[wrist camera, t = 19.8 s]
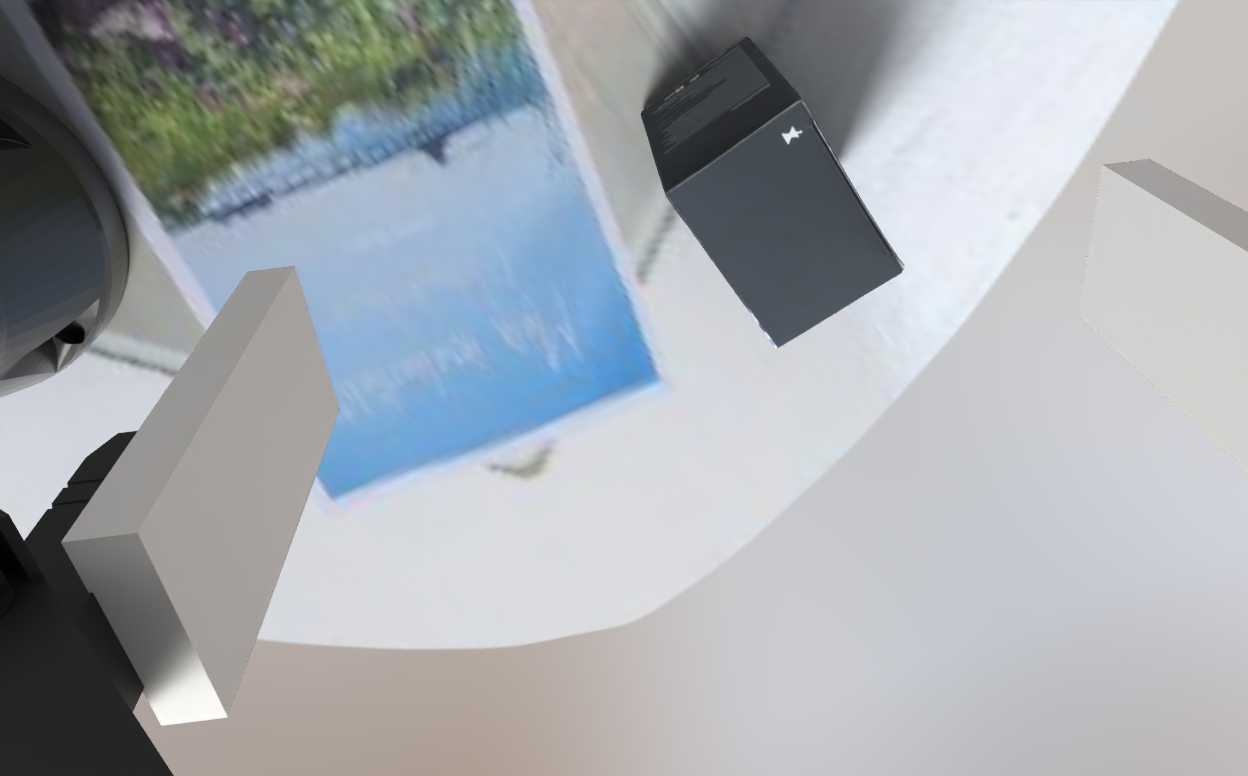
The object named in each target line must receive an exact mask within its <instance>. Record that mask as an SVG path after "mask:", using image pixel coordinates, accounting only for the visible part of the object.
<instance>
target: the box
mask: <svg viewBox="0 0 1248 776" xmlns="http://www.w3.org/2000/svg"><path fill="white" fill-rule="evenodd" d="M641 117H642V120H643V124H644V127H645V130H646V133H647V136H648V140H649V143H650V147H651V150H652V153H653V157H654V160H655V164H656V167H657V170H658V173H659V176H660V179H661V183H662V186H663V189H664V192H665V195H666V197H667V198H668V200H669V201H670V203H671V204H672V206H673V207H674V209H675V210H676V211H677V213H678V214H679V215H680V217H681V218H682V219H683V221H684V222H685V223H686V224H687V226H688V227H689V228H690V230H691V231H692V233H693V234H694V236H695V237H696V238H697V240H698V241H699V242H700V244H701V245H702V247H703V248H704V250H705V251H706V252H707V254H708V255H709V257H710V258H711V259H712V261H713V262H714V263H715V265H716V266H717V268H718V269H719V270H720V272H721V273H722V275H723V276H724V278H725V279H726V280H727V282H728V283H729V284H730V286H731V287H732V288H733V290H734V291H735V293H736V294H737V295H738V297H739V298H740V299H741V301H742V302H743V304H744V305H745V306H746V308H747V309H748V310H749V312H750V313H751V315H752V316H753V317H754V319H755V320H756V322H757V323H758V324H759V326H760V327H761V329H762V330H763V331H764V333H765V334H766V336H767V337H768V338H769V340H770V341H771V343H772V344H773V345H774V347H775V348H779V347H781V346H782V345H784V344H786V343H787V342H789V341H791V340H792V339H794V338H796V337H797V336H799V335H801V334H802V333H804V332H806V331H807V330H809V329H810V328H812V327H814V326H815V325H817V324H819V323H820V322H822V321H823V320H825V319H827V318H828V317H830V316H832V315H833V314H835V313H837V312H838V311H840V310H841V309H843V308H845V307H846V306H848V305H850V304H851V303H853V302H854V301H856V300H858V299H859V298H861V297H862V296H864V295H865V294H867V293H869V292H870V291H872V290H874V289H876V288H877V287H879V286H880V285H882V284H884V283H885V282H887V281H889V280H891V279H892V278H894V277H896V276H898V275H899V274H900V273H902V271H903V270H904V264H903V263H902V262H901V260H900V259H899V258H898V256H897V255H896V253H895V252H894V250H893V249H892V247H891V246H890V244H889V243H888V241H887V240H886V238H885V237H884V235H883V234H882V232H881V230H880V229H879V227H878V225H877V224H876V222H875V220H874V219H873V217H872V216H871V214H870V213H869V211H868V209H867V208H866V206H865V205H864V203H863V201H862V200H861V198H860V196H859V194H858V193H857V191H856V190H855V188H854V186H853V185H852V183H851V181H850V179H849V178H848V176H847V174H846V173H845V171H844V169H843V167H842V166H841V164H840V163H839V161H838V159H837V158H836V156H835V154H834V153H833V151H832V149H831V147H830V146H829V144H828V142H827V141H826V139H825V137H824V135H823V134H822V132H821V130H820V128H819V127H818V125H817V123H816V121H815V120H814V118H813V116H812V114H811V112H810V110H809V108H808V107H807V105H806V103H805V102H804V101H803V100H802V98H801V97H800V96H799V94H798V93H797V92H796V91H795V90H794V88H792V86H791V85H790V84H789V83H788V82H787V81H786V80H785V78H784V77H783V76H782V75H781V74H780V73H779V72H778V70H777V69H776V68H775V67H774V66H773V64H772V63H770V61H769V60H768V59H767V58H766V57H765V56H764V54H763V53H762V52H761V51H760V50H759V49H758V48H757V46H756V45H755V44H754V43H753V42H752V41H751V40H750V38H748V37H745V38H743V39H741V40H740V41H738V42H737V43H736V44H734V45H733V46H732V47H730V48H729V49H727V50H726V51H725V52H723V53H721V54H720V55H718V56H717V57H716V58H714V59H713V60H712V61H710V62H709V63H707V64H706V65H704V66H703V67H702V68H701V69H699V70H698V71H697V72H695V73H694V74H693V75H691V76H690V77H688V78H687V79H685V80H684V81H682V82H681V83H680V84H678V85H677V86H676V87H674V88H673V89H672V90H670V91H669V92H668V93H666V94H665V95H663V96H662V97H661V98H659V99H658V100H656V101H655V102H654V103H652V104H651V105H649V106H647V107H646V108H645V109H644V110H643V111H642V113H641Z"/></svg>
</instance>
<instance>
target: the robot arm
mask: <svg viewBox="0 0 1248 776" xmlns="http://www.w3.org/2000/svg"><path fill="white" fill-rule="evenodd" d="M127 269H128V250H127V242H126V235H125V230H124V226H123V222H122V219H121V215H120V212H119V210H118V207H117V204H116V202H115V199H114V197H113V195H112V193H111V190H110V188H109V187H108V185H107V183H106V181H105V179H104V177H103V176H102V174H101V172H100V171H99V169H98V167H97V166H96V164H95V163H94V162H93V160H92V159H91V157H90V156H89V154H88V153H87V152H86V151H85V149H84V148H83V147H82V146H81V144H80V143H79V142H78V141H77V140H76V138H75V137H74V136H73V135H72V134H71V133H70V132H69V131H68V130H67V129H66V128H65V127H64V126H63V125H62V124H61V123H60V122H59V121H58V120H57V119H56V118H55V117H54V116H53V115H52V114H51V113H49V112H48V111H47V110H46V109H45V108H44V107H42V106H41V105H40V104H39V103H37V102H36V101H35V100H34V99H32V98H31V97H29V96H28V95H27V94H25V93H24V92H22V91H21V90H20V89H18V88H16V87H15V86H13V85H12V84H10V83H8V82H7V81H5V80H4V79H2V78H0V398H1V397H3V396H6V395H9V394H11V393H14V392H17V391H19V390H22V389H25V388H27V387H30V386H32V385H35V384H37V383H40V382H42V381H44V380H46V379H48V378H50V377H52V376H53V375H55V374H57V373H58V372H60V371H61V370H63V369H64V368H66V367H67V366H68V365H70V364H71V363H72V362H74V361H75V360H76V359H77V358H78V357H79V356H80V355H81V354H82V353H83V352H84V351H85V350H86V349H87V348H88V347H89V346H90V344H91V343H92V342H93V341H94V340H95V339H96V338H97V337H98V336H99V335H100V333H101V332H102V331H103V330H104V329H105V328H106V326H107V325H108V324H109V322H110V321H111V319H112V317H113V316H114V314H115V312H116V310H117V308H118V306H119V304H120V301H121V298H122V296H123V292H124V288H125V284H126V278H127ZM1077 317H1078V318H1079V319H1080V320H1081V321H1082V322H1084V323H1085V324H1086V325H1087V326H1088V327H1089V328H1090V329H1091V330H1092V331H1093V332H1095V333H1096V334H1097V335H1098V336H1099V337H1100V338H1101V339H1102V340H1103V341H1105V343H1106V344H1108V345H1109V346H1110V347H1111V348H1112V349H1113V350H1114V351H1115V352H1116V353H1118V355H1120V356H1121V357H1122V358H1123V359H1124V360H1125V361H1126V362H1127V363H1128V364H1129V365H1130V366H1132V367H1133V368H1134V369H1135V370H1136V371H1137V372H1138V373H1139V374H1140V375H1141V376H1142V377H1144V378H1145V379H1146V380H1147V381H1148V382H1149V383H1150V384H1151V385H1152V386H1153V387H1155V388H1156V389H1157V390H1158V391H1159V392H1160V393H1161V394H1162V395H1163V396H1164V397H1165V398H1166V399H1168V400H1169V401H1170V402H1171V403H1172V404H1173V405H1174V406H1175V407H1176V408H1178V410H1180V411H1181V412H1182V413H1183V414H1184V415H1185V416H1186V417H1187V418H1188V419H1189V420H1191V421H1192V422H1193V423H1194V424H1195V425H1196V426H1197V427H1198V428H1199V429H1200V430H1202V431H1203V432H1204V433H1205V434H1206V435H1207V436H1208V437H1209V438H1210V439H1211V440H1212V441H1213V442H1214V443H1216V444H1217V445H1218V446H1219V447H1220V448H1221V449H1222V450H1223V451H1224V452H1225V453H1227V454H1228V455H1229V456H1230V457H1231V458H1232V459H1233V460H1234V461H1235V462H1236V463H1238V464H1239V465H1240V466H1241V467H1242V468H1243V469H1244V470H1245V471H1246V472H1247V473H1248V212H1246V211H1244V210H1242V209H1241V208H1239V207H1237V206H1235V205H1233V204H1231V203H1230V202H1228V201H1226V200H1224V199H1222V198H1220V197H1218V196H1217V195H1215V194H1213V193H1211V192H1209V191H1208V190H1206V189H1204V188H1202V187H1200V186H1198V185H1196V184H1195V183H1193V182H1191V181H1189V180H1187V179H1185V178H1183V177H1182V176H1180V175H1178V174H1176V173H1174V172H1173V171H1171V170H1169V169H1167V168H1165V167H1163V166H1162V165H1160V164H1158V163H1156V162H1154V161H1152V160H1150V159H1145V160H1137V161H1129V162H1122V163H1114V164H1105V165H1103V166H1102V171H1101V178H1100V183H1099V189H1098V195H1097V202H1096V208H1095V214H1094V219H1093V225H1092V231H1091V237H1090V243H1089V249H1088V255H1087V262H1086V267H1085V273H1084V279H1083V285H1082V291H1081V297H1080V303H1079V309H1078V315H1077ZM339 411H340V408H339V405H338V402H337V399H336V396H335V392H334V389H333V386H332V383H331V380H330V376H329V373H328V370H327V367H326V364H325V361H324V357H323V354H322V351H321V348H320V345H319V341H318V338H317V335H316V332H315V329H314V326H313V322H312V319H311V316H310V313H309V310H308V306H307V303H306V300H305V297H304V294H303V291H302V287H301V284H300V281H299V278H298V275H297V271H296V268H295V266H290V267H282V268H274V269H266V270H258V271H250V272H247V273H246V275H245V276H244V278H243V279H242V280H241V282H240V283H239V285H238V286H237V288H236V289H235V291H234V292H233V294H232V295H231V296H230V298H229V299H228V301H227V302H226V304H225V305H224V307H223V308H222V309H221V311H220V312H219V314H218V315H217V317H216V318H215V320H214V321H213V323H212V324H211V325H210V327H209V328H208V330H207V331H206V333H205V334H204V336H203V337H202V338H201V340H200V341H199V343H198V344H197V346H196V347H195V349H194V350H193V352H192V353H191V354H190V356H189V357H188V359H187V360H186V362H185V363H184V365H183V366H182V368H181V369H180V370H179V372H178V373H177V375H176V376H175V378H174V379H173V381H172V382H171V383H170V385H169V386H168V388H167V389H166V391H165V392H164V394H163V395H162V397H161V398H160V399H159V401H158V402H157V404H156V405H155V407H154V408H153V410H152V411H151V412H150V414H149V415H148V417H147V418H146V420H145V421H144V423H143V424H142V426H141V427H140V428H139V430H138V431H133V432H125V433H118V434H116V435H115V436H114V437H113V438H111V439H110V440H109V441H107V442H106V443H105V444H103V445H102V446H101V447H99V448H98V449H97V450H95V451H94V452H93V453H91V454H90V455H89V456H87V457H86V458H85V460H84V461H83V462H82V464H81V465H80V466H79V468H78V469H77V471H76V472H75V473H74V475H73V476H72V477H71V479H70V480H69V481H68V483H67V484H68V488H63V489H62V491H61V492H60V493H59V495H58V496H57V497H56V499H55V500H54V501H53V503H52V509H48V510H47V511H46V512H45V514H44V515H43V516H42V518H41V519H40V520H39V522H38V523H37V524H36V526H35V527H34V528H33V530H32V531H31V532H30V534H29V535H28V537H27V538H26V539H25V541H24V540H23V538H22V537H21V535H20V533H19V532H18V530H17V528H16V526H15V525H14V523H13V521H12V519H11V518H10V516H9V514H7V513H5V512H4V511H2V510H1V509H0V776H173V774H172V773H171V771H170V770H169V768H168V766H167V765H166V763H165V762H164V760H163V759H162V757H161V756H160V754H159V753H158V751H157V749H156V748H155V747H154V745H153V743H152V742H151V740H150V739H149V737H148V736H147V734H146V732H145V731H144V729H143V728H142V727H141V725H140V723H139V722H138V720H137V719H136V717H135V715H134V714H133V710H134V708H135V706H136V704H137V702H138V700H139V697H140V695H141V693H142V691H143V692H144V694H145V696H146V698H147V700H148V702H149V704H150V705H151V707H152V709H153V711H154V713H155V715H156V716H157V718H158V720H159V722H160V724H161V725H162V726H163V725H170V724H178V723H185V722H194V721H202V720H210V719H218V718H225V717H228V715H229V712H230V710H231V707H232V704H233V701H234V699H235V696H236V693H237V691H238V687H239V685H240V682H241V680H242V677H243V674H244V671H245V669H246V666H247V663H248V660H249V658H250V655H251V652H252V649H253V647H254V644H255V641H256V638H257V636H258V633H259V630H260V628H261V625H262V622H263V619H264V617H265V614H266V611H267V608H268V606H269V603H270V600H271V597H272V595H273V592H274V589H275V586H276V584H277V581H278V578H279V575H280V573H281V570H282V567H283V564H284V562H285V559H286V556H287V553H288V551H289V548H290V545H291V542H292V540H293V537H294V534H295V531H296V529H297V526H298V523H299V520H300V518H301V515H302V512H303V509H304V507H305V504H306V501H307V498H308V496H309V493H310V490H311V487H312V485H313V482H314V479H315V476H316V474H317V471H318V468H319V465H320V463H321V460H322V457H323V455H324V452H325V449H326V446H327V444H328V441H329V438H330V435H331V433H332V430H333V427H334V424H335V422H336V419H337V416H338V413H339Z"/></svg>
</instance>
